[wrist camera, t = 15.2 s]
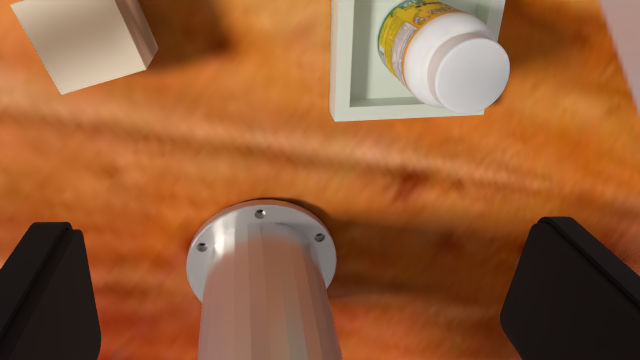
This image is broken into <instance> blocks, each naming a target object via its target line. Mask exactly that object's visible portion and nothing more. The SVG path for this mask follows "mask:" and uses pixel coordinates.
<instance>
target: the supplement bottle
mask: <svg viewBox="0 0 640 360" xmlns="http://www.w3.org/2000/svg"><path fill="white" fill-rule="evenodd" d="M376 46H377V52H378V55H379V57H380V59H381V61H382V63H383V64H384V65H385V67H386V68H387V69H388V70H389V71H390V72H391V73H392V74H393V75H394V76H395V77H396V78H397V79H398V80H399V81H400V82H401V83H402V84H403V85H404V86H405V87H406V88H407V89H408V90H409V91H410V92H411V93H412V94H413V95H414V96H415V97H416V98H417V99H418V100H420V101H421V102H423V103H425V104H427V105H429V106H432V107H436V108H447V109H448V110H450V111H452V112H455V113H458V114H471V113H475V112H479V111H481V110H483V109H485V108H487V107H488V106H490V105H491V104H492V103H493V102H494V101H495V100H496V99H497V98H498V97H499V96H500V95H501V93H502V92H503V90H504V89H505V86H506V84H507V82H508V79H509V73H510V62H509V58H508V55H507V53H506V51H505V50H504V49H503V48H502V46H501V45H500V44H498V43H497V42H496V40H495V37H494V35H493V33H492V31H491V30H490V28H489V27H488V26H487V25H486V24H485V23H484V22H483V21H481V20H480V19H478V18H477V17H475V16H473V15H472V14H469V13H466V12H464V11H461V10H459V9H456V8H454V7H451V6H449V5H447V4H444V3H442V2H439V1H437V0H403V1H401V2H399V3H397V4H396V5H394V6H393V7H392V8H390V9H389V10H388V11H387V13H386V14H385V15H384V17H383V18H382V20H381V22H380V25H379V27H378V31H377V36H376Z"/></svg>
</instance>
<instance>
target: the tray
mask: <svg viewBox="0 0 640 360" xmlns="http://www.w3.org/2000/svg"><path fill="white" fill-rule="evenodd" d="M401 1H403V0H331V40H330V83H329V111H330V113H331V115H332V117H333V119H334V121H335V122H337V121H358V120H379V119H400V118H421V117H443V116H464V115H483V114H484V109H483V110H481V111H479V112H475V113H471V114H458V113H455V112H452V111H450V110H448V109H447V108H436V107H432V106H429V105H427V104H425V103H423V102H421V101H420V100H418V99H417V98H416V97H415V96H414V95H413V94H412V93H411V92H410V91H409V90H408V89H407V88H406V87H405V86H404V85H403V84H402V83H401V82H400V81H399V80H398V79H397V78H396V77H395V76H394V75H393V74H392V73H391V72H390V71H389V70H388V69H387V68H386V67H385V65H384V64H383V63H382V61H381V59H380V57H379V55H378V52H377V46H376V36H377V31H378V27H379V25H380V22H381V20H382V18H383V17H384V15H385V14H386V13H387V11H388V10H389V9H390V8H392V7H393V6H394V5H396V4H397V3H399V2H401ZM437 1H439V2H442V3H444V4H447V5H449V6H451V7H454V8H456V9H459V10H461V11H464V12H466V13H469V14H472V15H473V16H475V17H477V18H478V19H480V20H481V21H483V22H484V23H485V24H486V25H487V26H488V27H489V28H490V30H491V31H492V33H493V35H494V37H495V40H496V42H498V37H499V31H500V26H501V21H502V16H503V11H504V6H505V1H506V0H437Z"/></svg>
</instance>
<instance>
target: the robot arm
mask: <svg viewBox="0 0 640 360" xmlns="http://www.w3.org/2000/svg"><path fill="white" fill-rule="evenodd" d="M260 209H261V210H260ZM336 263H337V258H336V249H335V246H334V242H333V239H332V237H331V235H330V233H329V231H328V229H327V228H326V226H325V225H324V224H323V223H322V221H321V220H320V219H319V218H317V217H316V216H315V215H314V214H313V213H311V212H310V211H308V210H306V209H304V208H302V207H300V206H298V205H295V204H292V203H289V202H285V201H278V200H271V199H269V200H252V201H247V202H242V203H238V204H236V205H233V206H230V207H228V208H225V209H224V210H222V211H220V212H219V213H217V214H215V215H213V216H212V217H211V218H210V219H209V220H208V221H206V222H205V223H204V224H203V225H202V226H201V228H200V229H199V230H198V231H197V233H196V234H195V236H194V238H193V240H192V242H191V244H190V247H189V251H188V256H187V266H186V271H187V277H188V282H189V284H190V286H191V288H192V291H193V292H194V294H195V295H196V296H197V298H198V299H199V300H200V301H201V302H202V313H201V324H200V335H199V346H198V357H197V360H343V357H342V352H341V348H340V344H339V340H338V336H337V332H336V327H335V323H334V319H333V315H332V311H331V307H330V302H329V298H328V294H327V288H328V286H329V285H330V283H331V281H332V279H333V276H334V274H335V270H336ZM500 322H501V326H502V328H503V330H504V332H505V333H506V335H507V336H508V338H509V340H510V341H511V343H512V344H513V346H514V347H515V349H516V350H517V352H518V353H519V355H520V356H521V358H522V359H523V360H640V276H638V275H637V274H636V273H635V272H634V271H633V270H632V269H630V268H629V267H628V266H627V265H626V264H625V263H623V262H622V261H621V260H620V259H619V258H618V257H617V256H615V255H614V254H613V253H612V252H611V251H610V250H609V249H607V248H606V247H605V246H604V245H603V244H602V243H601V242H599V241H598V240H597V239H596V238H595V237H594V236H593V235H591V234H590V233H589V232H588V231H587V230H586V229H585V228H583V227H582V226H581V225H580V224H579V223H578V222H576V221H575V220H574V219H573V218H571V217H543V218H541V219H540V220H539V221H538V222H537V224H534V225H533V226H532V227H531V229H530V232H529V235H528V238H527V240H526V243H525V246H524V249H523V252H522V255H521V257H520V260H519V263H518V266H517V269H516V271H515V274H514V277H513V280H512V283H511V285H510V288H509V291H508V294H507V297H506V299H505V302H504V305H503V308H502V311H501V314H500ZM100 346H101V331H100V326H99V320H98V315H97V309H96V304H95V298H94V293H93V287H92V281H91V276H90V270H89V265H88V259H87V254H86V248H85V243H84V237H83V233H82V231H81V230H73V229H72V226H71V224H70V223H69V222H35V223H33V224H32V225H31V226H30V227H29V229H28V230H27V232H26V233H25V235H24V236H23V237H22V239H21V240H20V242H19V243H18V245H17V246H16V248H15V249H14V251H13V252H12V253H11V255H10V256H9V258H8V259H7V261H6V262H5V264H4V265H3V266H2V268H1V269H0V360H97V358H98V355H99V352H100Z"/></svg>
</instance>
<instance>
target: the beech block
mask: <svg viewBox="0 0 640 360" xmlns="http://www.w3.org/2000/svg"><path fill="white" fill-rule="evenodd" d="M10 6H11V8H12V9H13V11H14V13H15V15H16V16H17V18H18V20H19V22H20V23H21V25H22V27H23V29H24V30H25V32H26V34H27V36H28V37H29V39H30V41H31V43H32V44H33V46H34V48H35V50H36V51H37V53H38V55H39V57H40V58H41V60H42V62H43V64H44V65H45V67H46V69H47V71H48V72H49V74H50V76H51V78H52V79H53V81H54V83H55V85H56V86H57V88H58V90H59V92H60V93H61V95H62V94H65V93H69V92H72V91H75V90H79V89H82V88H85V87H89V86H92V85H96V84H99V83H102V82H106V81H109V80H112V79H116V78H119V77H123V76H126V75H129V74H133V73H136V72H139V71H143V70H146V69H147V67H148V66H149V64H150V62H151V61H152V59H153V57H154V56H155V54H156V52H157V51H158V49H159V48H158V45H157V43H156V41H155V38H154V36H153V34H152V32H151V29H150V27H149V25H148V22H147V20H146V18H145V15H144V13H143V11H142V8H141V6H140V4H139V1H138V0H21V1H18V2H16V3H13V4H11V5H10Z"/></svg>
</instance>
